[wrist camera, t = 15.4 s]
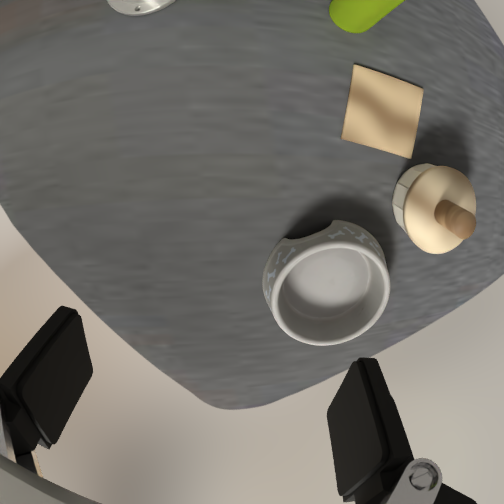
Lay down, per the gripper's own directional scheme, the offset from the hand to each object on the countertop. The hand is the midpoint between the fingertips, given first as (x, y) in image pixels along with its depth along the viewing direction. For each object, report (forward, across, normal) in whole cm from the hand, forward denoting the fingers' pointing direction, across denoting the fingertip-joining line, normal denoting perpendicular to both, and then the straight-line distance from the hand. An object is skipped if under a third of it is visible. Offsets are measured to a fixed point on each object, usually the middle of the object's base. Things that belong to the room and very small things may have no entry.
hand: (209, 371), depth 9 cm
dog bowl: (+31, -13, +12) cm, 35 cm away
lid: (+26, -24, -3) cm, 35 cm away
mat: (+30, -15, -13) cm, 36 cm away
